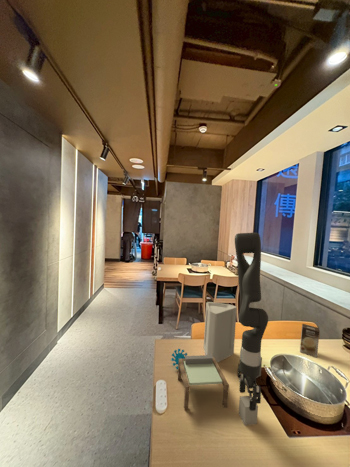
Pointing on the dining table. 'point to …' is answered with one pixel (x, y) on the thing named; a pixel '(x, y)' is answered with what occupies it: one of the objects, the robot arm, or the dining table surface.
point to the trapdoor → (201, 370)
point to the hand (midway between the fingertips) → (246, 400)
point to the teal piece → (178, 357)
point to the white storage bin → (219, 330)
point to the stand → (186, 398)
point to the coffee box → (309, 340)
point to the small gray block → (247, 411)
